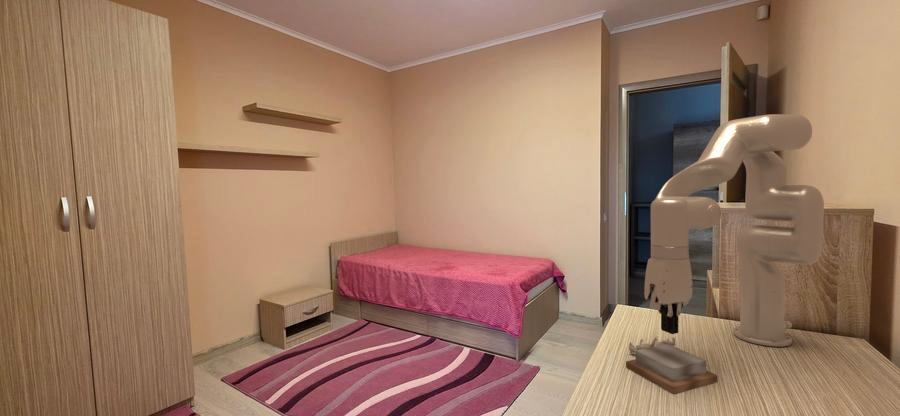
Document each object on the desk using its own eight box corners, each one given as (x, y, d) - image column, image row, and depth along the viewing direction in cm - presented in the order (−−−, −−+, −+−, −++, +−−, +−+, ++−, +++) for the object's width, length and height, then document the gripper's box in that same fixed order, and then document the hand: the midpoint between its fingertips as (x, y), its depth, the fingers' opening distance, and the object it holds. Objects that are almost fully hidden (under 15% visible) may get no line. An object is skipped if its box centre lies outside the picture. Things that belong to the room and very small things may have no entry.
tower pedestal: (666, 357, 96) (666, 340, 96) (717, 381, 84) (717, 362, 84) (626, 367, 92) (625, 349, 92) (673, 394, 80) (673, 373, 79)
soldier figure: (681, 336, 97) (635, 331, 97) (685, 356, 95) (638, 352, 95) (664, 339, 104) (621, 335, 104) (667, 358, 102) (623, 354, 102)
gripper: (678, 247, 92) (678, 321, 93) (630, 253, 88) (631, 331, 88) (708, 252, 85) (708, 332, 86) (658, 258, 80) (658, 343, 81)
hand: (669, 331), depth 87 cm, fingers closed
